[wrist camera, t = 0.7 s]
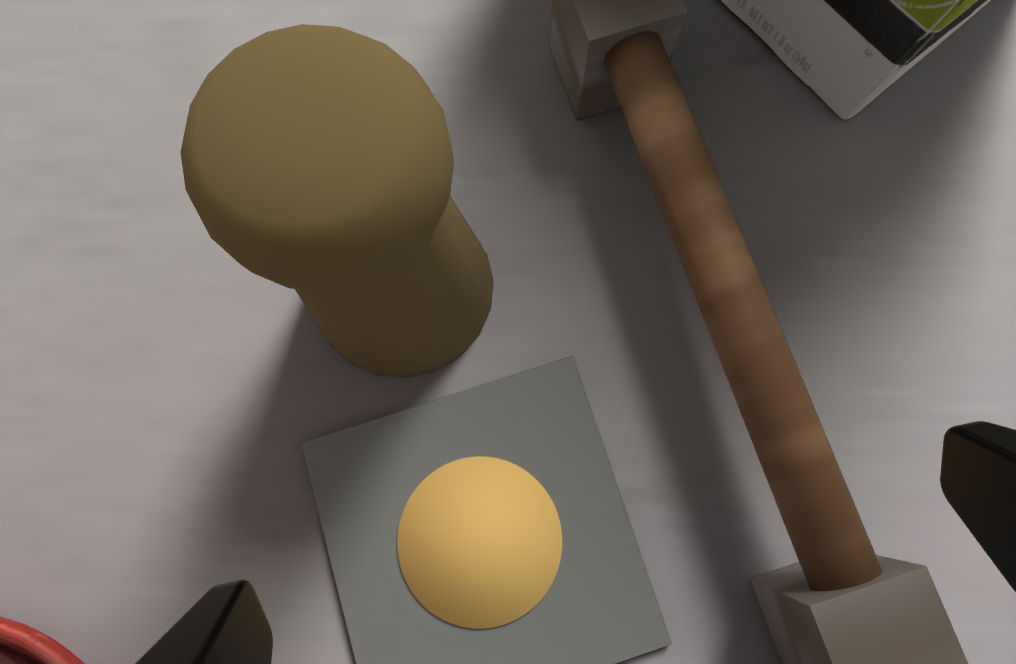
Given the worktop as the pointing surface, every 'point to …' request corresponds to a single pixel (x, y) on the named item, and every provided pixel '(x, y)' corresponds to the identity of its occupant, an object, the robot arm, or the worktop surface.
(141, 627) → the worktop surface
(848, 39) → the tea box
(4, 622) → the plant pot
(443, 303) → the cork
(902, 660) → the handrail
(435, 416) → the pad
